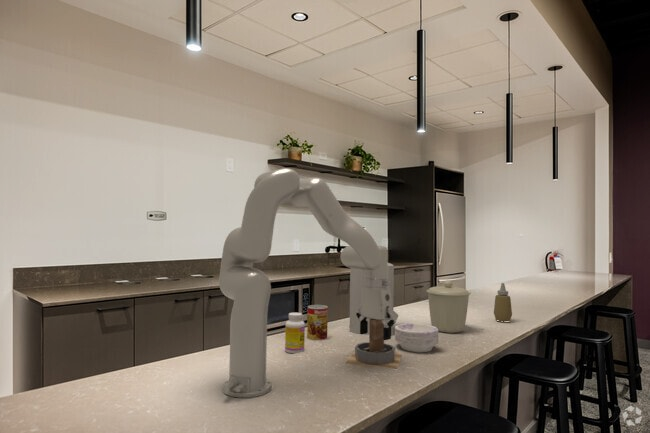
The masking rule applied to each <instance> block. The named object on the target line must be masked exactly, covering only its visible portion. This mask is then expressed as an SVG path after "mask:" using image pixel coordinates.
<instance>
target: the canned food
mask: <svg viewBox="0 0 650 433" xmlns="http://www.w3.org/2000/svg"><path fill="white" fill-rule="evenodd" d="M328 309H329V307H328V305H324V304H323V305H322V304H311V305H308V306H307V322H306V323H307V324H306V325H307V326H306V328H307V329H306V336H307V337H306V338H307V339H308V340H310V341H311V340H312V341H324V340H326V339H328V316H329V314H328V313H329V310H328Z"/></svg>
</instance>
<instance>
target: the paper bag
mask: <svg viewBox="0 0 650 433" xmlns="http://www.w3.org/2000/svg"><path fill="white" fill-rule="evenodd" d="M349 269H350V270H349V274H350V276H349V280H350V281H349V333H351V332H352V334H355V335H361V334H360V322H359V320H358V317H357V316H356V311H355V307H356V306H358V305H360V304H361V296H362V290H363V287H364V270H361V269H353V268H349ZM387 281H388V282H390V285H389V286H387V288H388V289H390V293H391V300H392V310H393V311H394V305H395V304H394V302H395V301H394V297H395V296H394V290H395V289H394V288H395V286H394V285H395V284H394V283H395V266H394V264H392V263H389V262H388V278H387ZM360 312H361V309H360ZM390 320H391V319H390ZM366 321H368V333H366V334H363V335H367V336H369V326H370V318H368V319H367V320H366ZM387 323H388V322H387ZM384 327H385V326H384ZM392 336H394V325H393V326H392V327H391V337H392Z"/></svg>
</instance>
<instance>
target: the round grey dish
mask: <svg viewBox="0 0 650 433" xmlns="http://www.w3.org/2000/svg"><path fill="white" fill-rule="evenodd" d="M368 347H369V342H366V341H365V342H362V343H361V342H360V343H357V344H356V345H355V346H354V351H355V357H356V360H358V361H360V362H363V363H367V364H375V365H382V364H389V363H392V362H394V360H395V353H396V347H394V346H393V345H392V344H387V343H385V342H384V349H387V352H379V353H376V352H367V351H363V349H365V348H368Z"/></svg>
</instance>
